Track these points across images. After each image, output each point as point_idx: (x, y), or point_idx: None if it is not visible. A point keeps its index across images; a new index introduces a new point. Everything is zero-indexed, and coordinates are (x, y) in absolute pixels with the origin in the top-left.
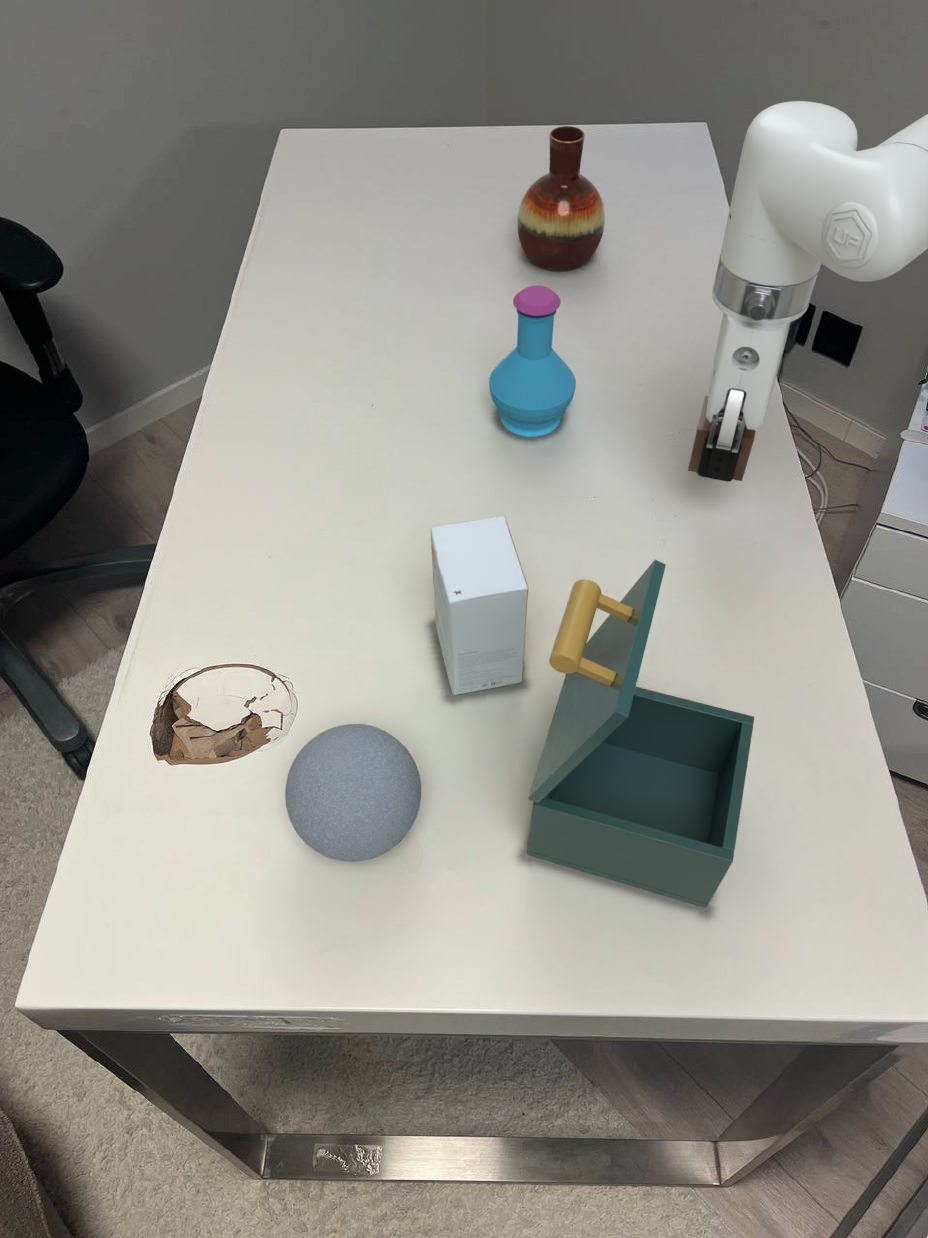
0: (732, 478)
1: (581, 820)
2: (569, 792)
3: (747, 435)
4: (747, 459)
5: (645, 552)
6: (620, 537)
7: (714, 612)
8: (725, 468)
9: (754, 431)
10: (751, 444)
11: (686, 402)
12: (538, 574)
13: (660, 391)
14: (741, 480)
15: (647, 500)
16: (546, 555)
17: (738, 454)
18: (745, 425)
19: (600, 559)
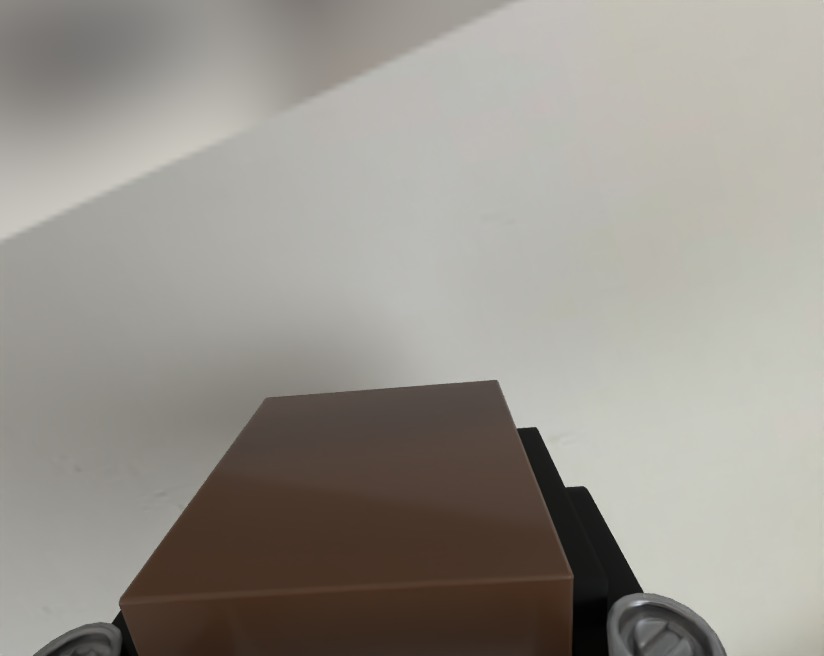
0: (538, 432)
1: None
2: None
3: (534, 621)
4: (523, 453)
5: (606, 464)
6: None
7: (772, 264)
8: (603, 523)
9: (467, 587)
10: (557, 541)
11: (37, 504)
12: (730, 632)
13: (38, 566)
14: (498, 383)
15: None
16: None
17: (592, 546)
18: (420, 651)
19: (656, 543)
